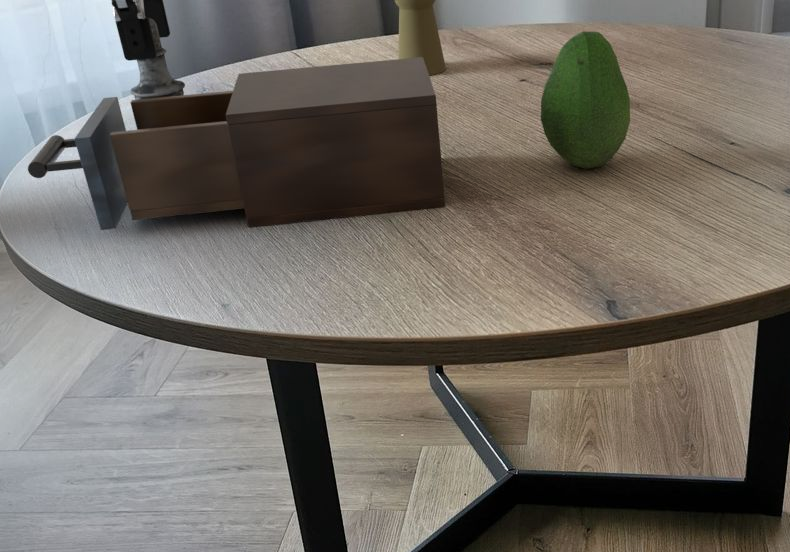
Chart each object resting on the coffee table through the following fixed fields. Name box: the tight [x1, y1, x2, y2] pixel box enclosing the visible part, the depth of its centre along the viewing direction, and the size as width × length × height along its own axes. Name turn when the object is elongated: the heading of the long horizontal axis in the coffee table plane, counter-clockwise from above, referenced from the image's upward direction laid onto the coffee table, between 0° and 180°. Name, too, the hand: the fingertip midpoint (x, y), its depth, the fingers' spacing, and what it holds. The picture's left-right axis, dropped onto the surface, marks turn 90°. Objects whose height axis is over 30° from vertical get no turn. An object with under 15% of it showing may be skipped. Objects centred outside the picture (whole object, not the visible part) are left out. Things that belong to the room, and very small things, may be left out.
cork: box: [394, 0, 447, 77], centre depth 118 cm, size 6×6×11 cm
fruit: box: [540, 30, 631, 170], centre depth 85 cm, size 8×8×12 cm
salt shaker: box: [129, 16, 186, 100], centre depth 105 cm, size 6×6×12 cm
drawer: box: [27, 90, 244, 231], centre depth 82 cm, size 20×11×8 cm, turn 99°
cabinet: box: [226, 57, 446, 228], centre depth 84 cm, size 17×13×10 cm
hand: (149, 47), depth 104 cm, fingers open, 9 cm apart
